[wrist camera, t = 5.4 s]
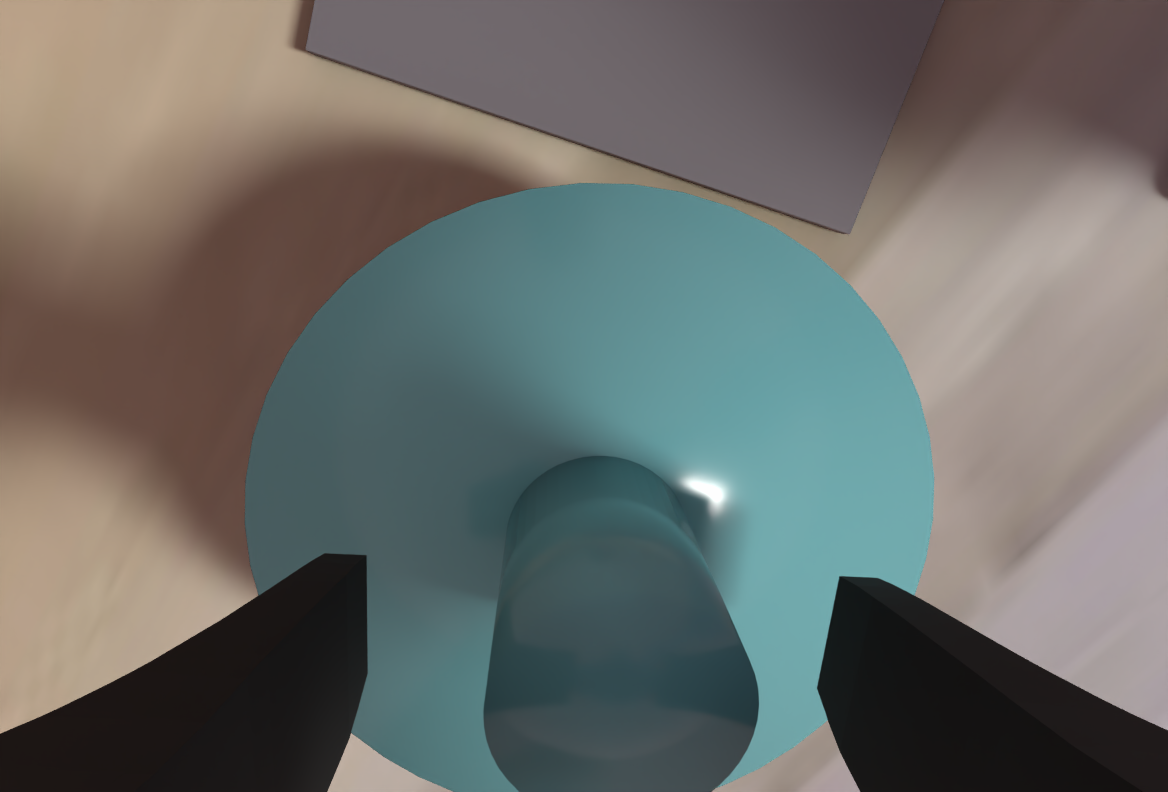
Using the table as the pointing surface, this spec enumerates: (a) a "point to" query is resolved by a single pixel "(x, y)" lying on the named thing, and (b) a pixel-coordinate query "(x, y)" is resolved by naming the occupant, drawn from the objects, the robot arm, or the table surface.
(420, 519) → the lid
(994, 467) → the table surface
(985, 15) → the table surface
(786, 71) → the mat
